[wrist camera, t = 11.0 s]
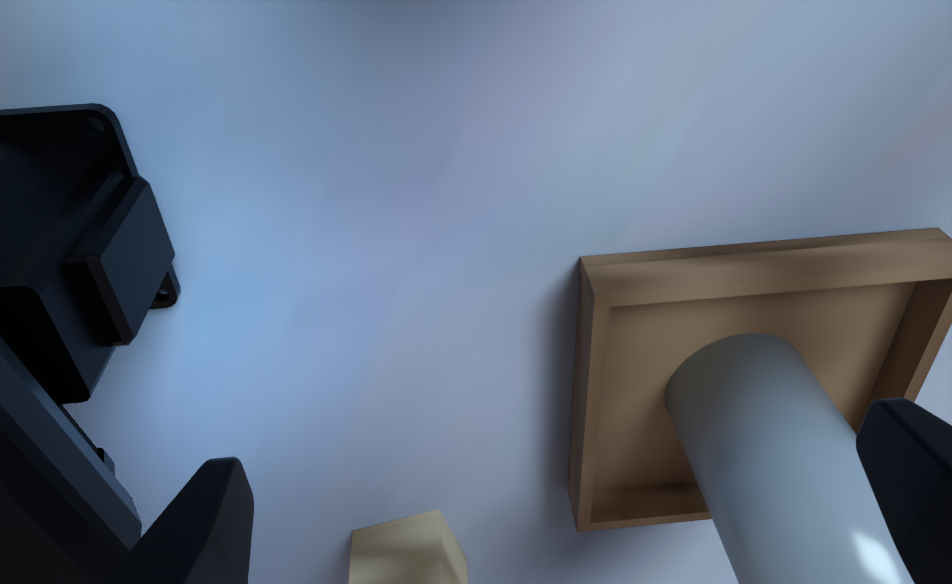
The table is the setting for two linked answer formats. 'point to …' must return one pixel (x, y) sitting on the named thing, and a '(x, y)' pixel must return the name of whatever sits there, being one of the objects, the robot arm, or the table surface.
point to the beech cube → (407, 552)
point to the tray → (731, 313)
